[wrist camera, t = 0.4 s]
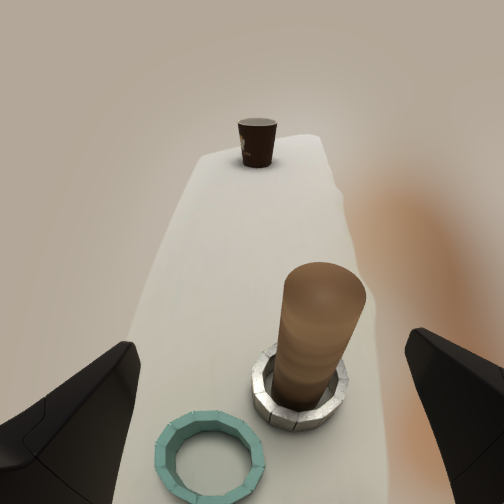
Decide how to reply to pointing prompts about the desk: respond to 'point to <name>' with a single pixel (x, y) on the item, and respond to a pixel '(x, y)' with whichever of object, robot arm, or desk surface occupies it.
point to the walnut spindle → (314, 331)
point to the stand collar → (288, 417)
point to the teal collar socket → (193, 425)
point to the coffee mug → (257, 141)
